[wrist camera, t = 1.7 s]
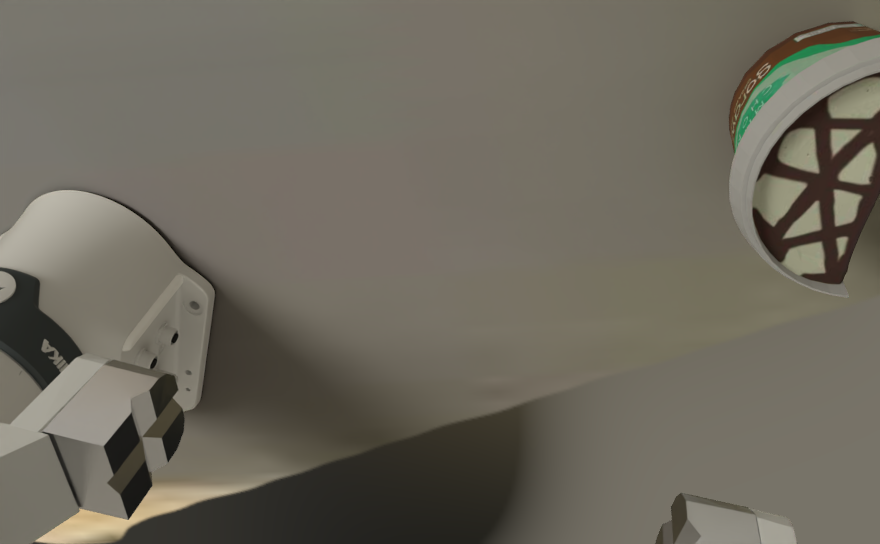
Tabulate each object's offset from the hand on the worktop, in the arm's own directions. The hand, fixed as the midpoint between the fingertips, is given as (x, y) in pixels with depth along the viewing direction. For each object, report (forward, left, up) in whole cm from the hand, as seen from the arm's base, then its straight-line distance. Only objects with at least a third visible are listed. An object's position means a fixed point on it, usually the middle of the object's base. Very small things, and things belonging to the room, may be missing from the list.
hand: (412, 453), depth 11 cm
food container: (-3, -13, -32) cm, 35 cm away
